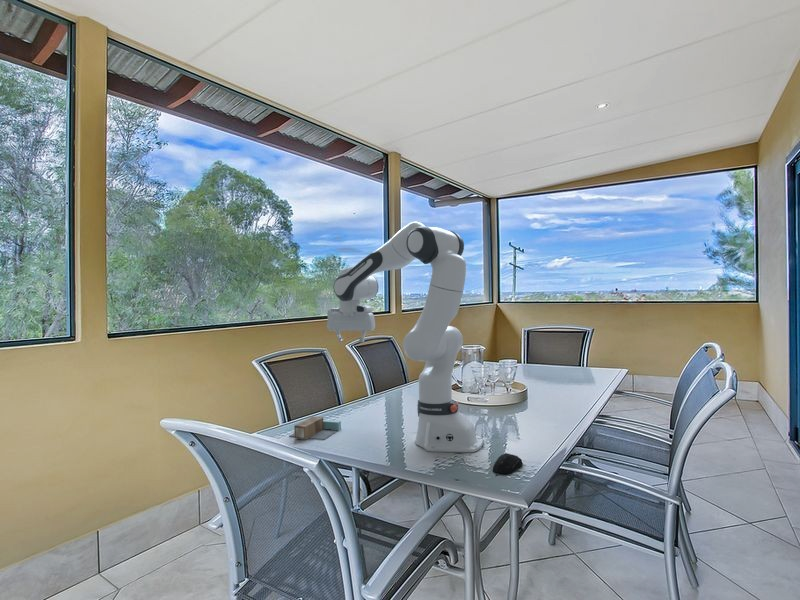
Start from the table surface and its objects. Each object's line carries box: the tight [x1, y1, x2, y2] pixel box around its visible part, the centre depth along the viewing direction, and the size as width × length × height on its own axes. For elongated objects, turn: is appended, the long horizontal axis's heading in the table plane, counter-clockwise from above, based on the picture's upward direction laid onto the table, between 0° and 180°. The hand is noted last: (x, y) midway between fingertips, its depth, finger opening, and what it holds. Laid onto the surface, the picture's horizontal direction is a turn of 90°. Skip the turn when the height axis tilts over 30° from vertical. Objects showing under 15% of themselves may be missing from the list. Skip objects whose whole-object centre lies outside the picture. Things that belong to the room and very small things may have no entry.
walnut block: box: [293, 416, 324, 440], centre depth 163 cm, size 4×4×12 cm
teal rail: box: [305, 418, 342, 431], centre depth 170 cm, size 14×2×3 cm, turn 71°
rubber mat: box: [288, 429, 337, 441], centre depth 163 cm, size 14×9×1 cm, turn 71°
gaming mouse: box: [492, 452, 524, 477], centre depth 128 cm, size 6×15×4 cm, turn 142°
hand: (351, 341), depth 183 cm, fingers open, 8 cm apart
